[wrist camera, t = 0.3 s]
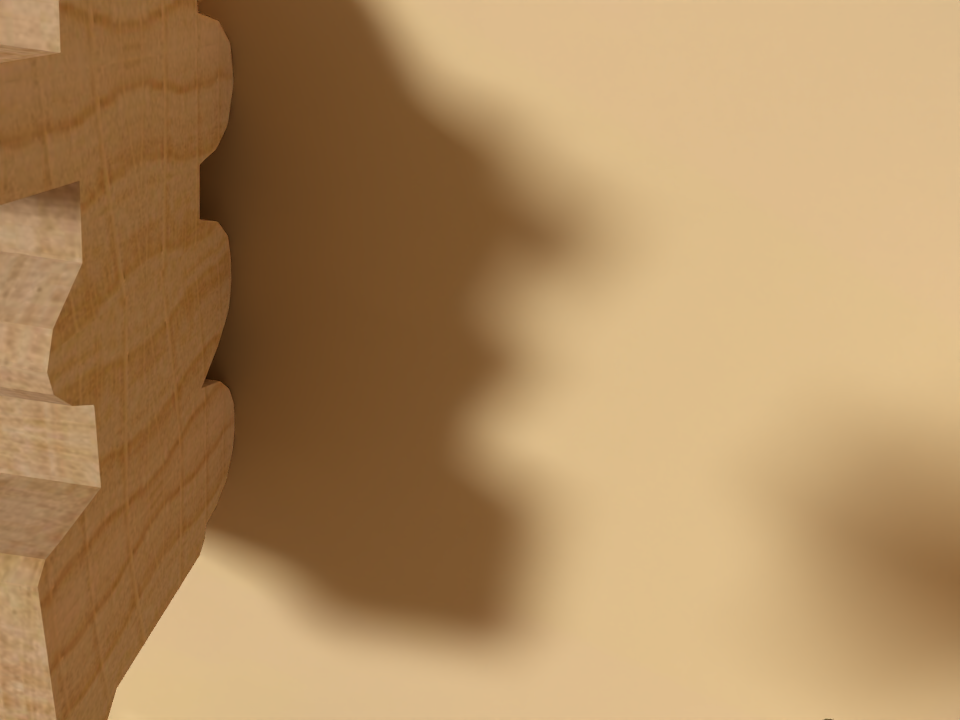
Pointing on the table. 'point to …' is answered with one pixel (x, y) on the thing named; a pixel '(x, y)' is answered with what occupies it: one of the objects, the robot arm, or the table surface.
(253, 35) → the table surface
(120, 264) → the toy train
